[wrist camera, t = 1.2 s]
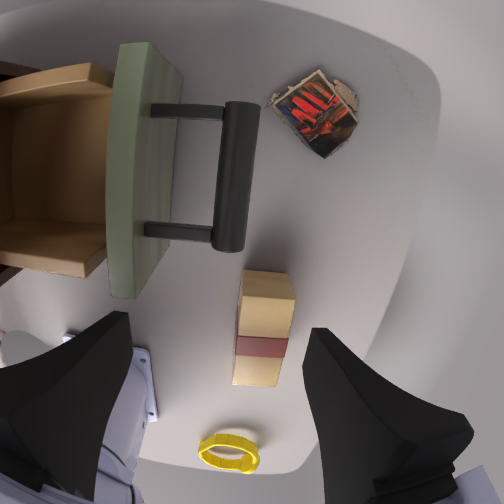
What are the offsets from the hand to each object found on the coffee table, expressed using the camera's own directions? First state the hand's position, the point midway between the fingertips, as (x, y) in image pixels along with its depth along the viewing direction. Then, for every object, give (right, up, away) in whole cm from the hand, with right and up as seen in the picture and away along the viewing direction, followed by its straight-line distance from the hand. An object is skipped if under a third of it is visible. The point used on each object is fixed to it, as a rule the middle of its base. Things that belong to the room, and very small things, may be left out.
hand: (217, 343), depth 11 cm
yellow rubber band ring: (-3, -15, +14) cm, 21 cm away
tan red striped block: (+2, -1, +10) cm, 10 cm away
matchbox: (+5, +12, +5) cm, 14 cm away
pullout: (-7, +9, +5) cm, 12 cm away
